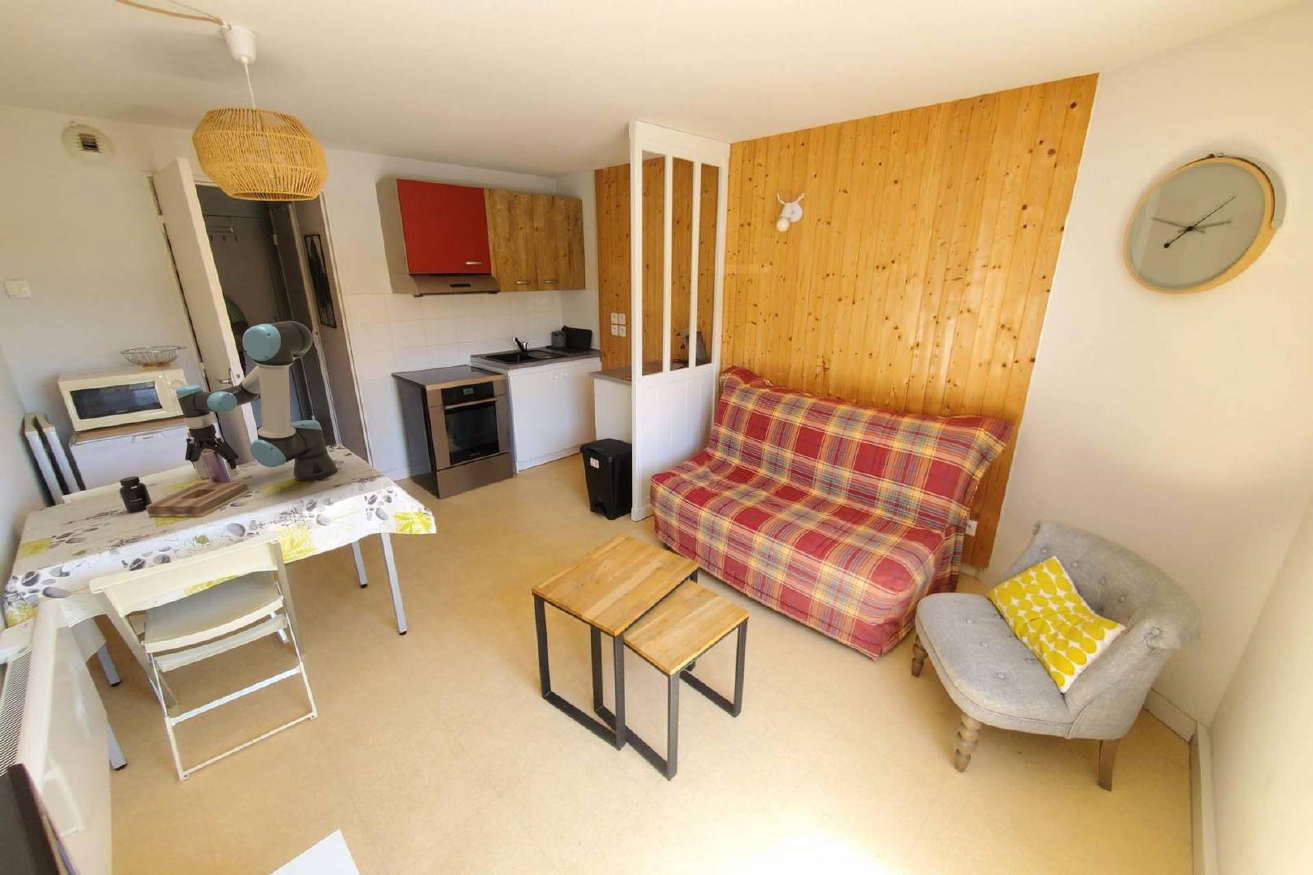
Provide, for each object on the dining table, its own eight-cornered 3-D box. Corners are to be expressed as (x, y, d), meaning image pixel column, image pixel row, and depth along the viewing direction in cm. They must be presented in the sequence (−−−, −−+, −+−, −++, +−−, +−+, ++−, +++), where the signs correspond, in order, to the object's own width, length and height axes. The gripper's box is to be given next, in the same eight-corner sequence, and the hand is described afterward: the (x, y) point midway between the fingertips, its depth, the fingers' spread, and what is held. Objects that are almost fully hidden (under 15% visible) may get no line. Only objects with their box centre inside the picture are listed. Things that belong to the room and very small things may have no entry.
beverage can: (235, 482, 204) (223, 448, 200) (221, 488, 199) (209, 453, 194) (221, 482, 205) (209, 448, 200) (208, 488, 199) (195, 453, 195)
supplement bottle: (137, 513, 180) (124, 483, 176) (122, 512, 182) (109, 482, 178) (158, 504, 187) (146, 475, 183) (144, 503, 188) (131, 474, 184)
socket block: (249, 491, 195) (246, 482, 194) (202, 516, 176) (198, 506, 175) (201, 491, 197) (197, 482, 195) (149, 516, 178) (145, 506, 176)
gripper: (239, 422, 196) (255, 472, 203) (180, 423, 198) (197, 472, 205) (222, 428, 189) (239, 480, 196) (161, 429, 191) (180, 480, 198)
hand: (218, 476), depth 201 cm, fingers open, 13 cm apart
